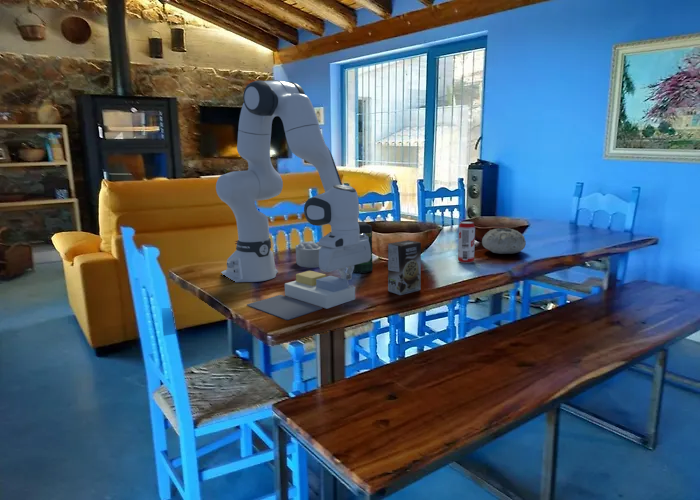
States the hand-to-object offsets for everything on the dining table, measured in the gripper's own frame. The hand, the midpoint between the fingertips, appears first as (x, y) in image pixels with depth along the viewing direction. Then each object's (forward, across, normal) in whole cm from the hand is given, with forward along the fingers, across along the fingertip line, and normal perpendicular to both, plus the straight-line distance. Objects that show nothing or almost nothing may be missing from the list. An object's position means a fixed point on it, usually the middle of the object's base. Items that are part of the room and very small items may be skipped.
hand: (346, 279), depth 163 cm
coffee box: (+5, -16, +11) cm, 20 cm away
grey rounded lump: (+5, -86, +8) cm, 86 cm away
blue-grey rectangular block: (0, +6, 0) cm, 6 cm away
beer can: (+5, -62, +5) cm, 62 cm away
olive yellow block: (0, +6, -10) cm, 12 cm away
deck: (+5, +7, -5) cm, 10 cm away
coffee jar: (+5, -26, -18) cm, 32 cm away
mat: (+5, +21, -6) cm, 22 cm away
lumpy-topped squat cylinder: (+5, -20, -41) cm, 46 cm away
